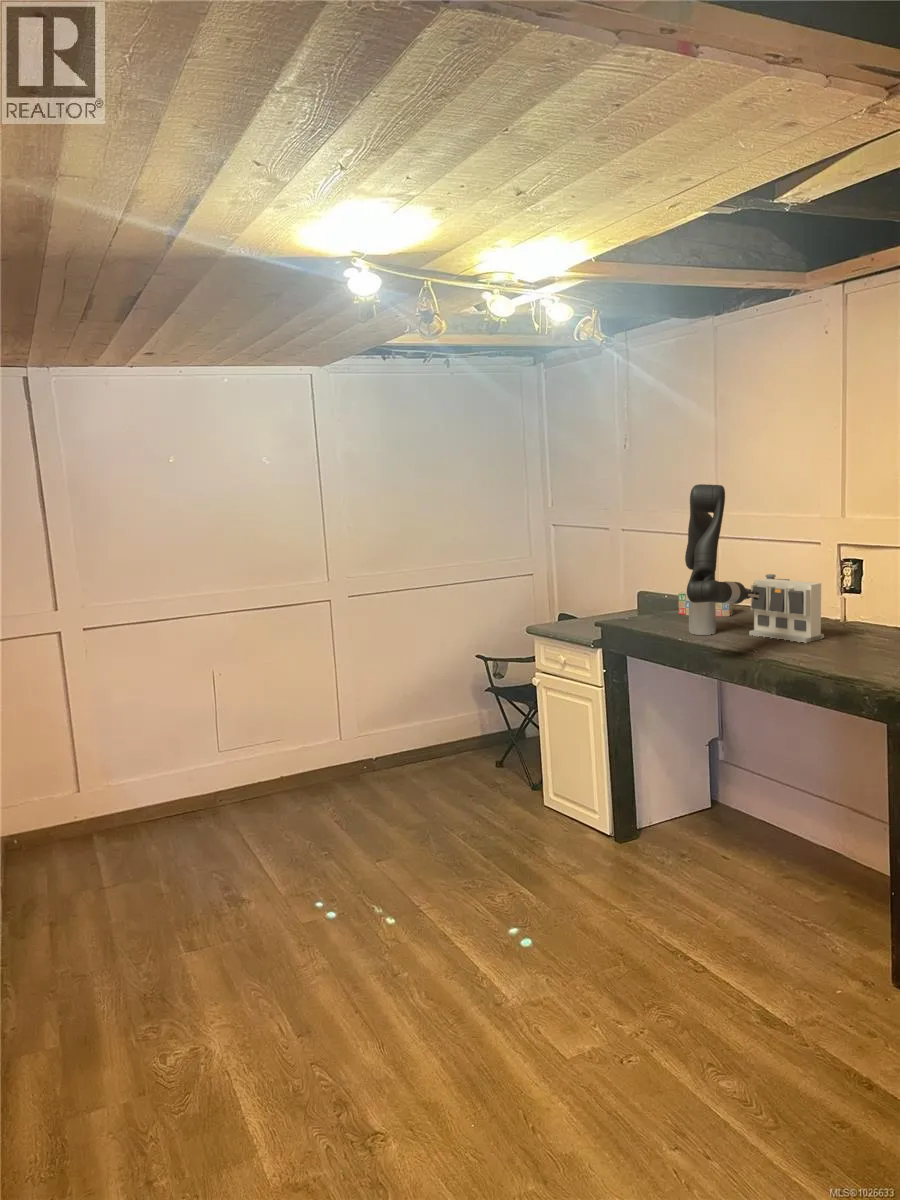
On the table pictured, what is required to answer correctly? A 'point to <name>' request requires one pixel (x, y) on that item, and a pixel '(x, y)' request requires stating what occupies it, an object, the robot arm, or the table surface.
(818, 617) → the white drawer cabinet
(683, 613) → the stack of blocks
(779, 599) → the outlet rocker
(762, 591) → the rocker switch
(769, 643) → the table surface
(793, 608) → the outlet rocker
